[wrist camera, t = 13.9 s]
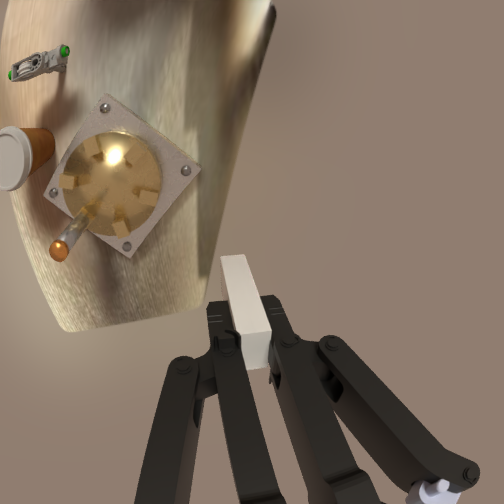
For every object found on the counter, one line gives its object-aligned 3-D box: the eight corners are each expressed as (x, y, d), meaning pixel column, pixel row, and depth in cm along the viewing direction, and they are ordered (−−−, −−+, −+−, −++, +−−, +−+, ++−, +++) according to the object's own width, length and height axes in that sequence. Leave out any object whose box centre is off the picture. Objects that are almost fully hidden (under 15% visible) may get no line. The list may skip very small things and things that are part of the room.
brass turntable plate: (179, 155, 38) (173, 177, 26) (139, 242, 44) (124, 293, 32) (89, 116, 32) (46, 123, 20) (59, 207, 37) (19, 246, 25)
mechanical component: (89, 67, 30) (63, 59, 21) (38, 84, 28) (7, 84, 20) (89, 51, 28) (64, 40, 20) (39, 69, 27) (7, 66, 18)
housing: (109, 93, 33) (103, 93, 31) (201, 165, 43) (201, 169, 40) (49, 191, 38) (42, 196, 35) (132, 251, 47) (129, 259, 45)
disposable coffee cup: (44, 182, 37) (9, 206, 27) (14, 151, 32) (-25, 168, 22) (72, 140, 35) (37, 153, 25) (40, 108, 30) (1, 114, 20)
